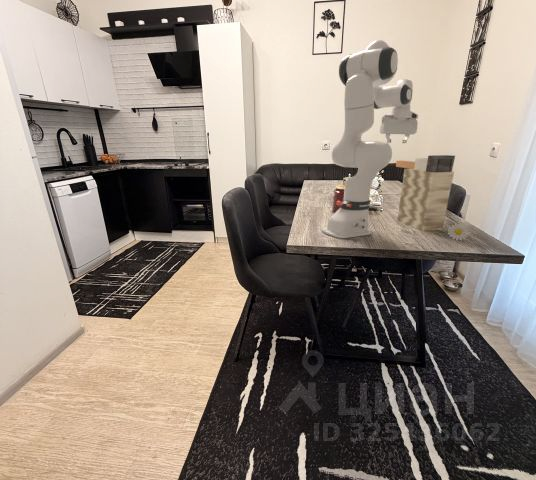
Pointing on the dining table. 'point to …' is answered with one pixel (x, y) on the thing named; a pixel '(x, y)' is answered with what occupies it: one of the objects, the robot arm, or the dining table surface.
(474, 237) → the dining table surface
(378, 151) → the robot arm
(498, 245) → the dining table surface
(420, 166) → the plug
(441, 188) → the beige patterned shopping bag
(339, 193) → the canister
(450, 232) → the decorative flower
